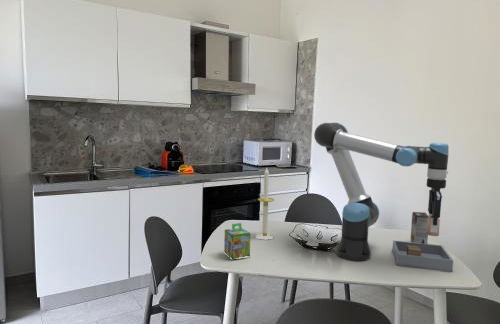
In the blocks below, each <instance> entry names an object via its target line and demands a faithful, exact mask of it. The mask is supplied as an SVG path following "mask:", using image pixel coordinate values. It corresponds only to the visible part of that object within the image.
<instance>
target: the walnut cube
mask: <svg viewBox="0 0 500 324" xmlns="http://www.w3.org/2000/svg"><path fill="white" fill-rule="evenodd" d="M407 255H413V256H421V249H420V248H419V247H418V246H409V245H407Z"/></svg>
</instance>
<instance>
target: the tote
mask: <svg viewBox="0 0 500 324" xmlns="http://www.w3.org/2000/svg"><path fill="white" fill-rule="evenodd" d="M407 245H409V246H418V247H419V248H420V249H421V256H413V255H407ZM391 250H392V251H391V252H392V254H393V257H394V261H395V264H396V266H399V267H406V268H407V267H408V268H416V269H422V270H431V271H440V272H441V271H442V272H449V273H453V267H454V259H453V258H452V257H451V255H450V254H449V253H448V251H447V250H446V248H445V247H444V246H443V245H440V244H432V243H427V244H423V243H413V242H411V241H401V240H392V249H391Z"/></svg>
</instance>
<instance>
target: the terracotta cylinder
mask: <svg viewBox="0 0 500 324" xmlns="http://www.w3.org/2000/svg"><path fill="white" fill-rule="evenodd" d="M440 224H441V219H440V218H438V231H437V233H436V232H430V228H431V218H427V232H426V234H427V235H428V236H431V237H438V236H440V226H441V225H440Z"/></svg>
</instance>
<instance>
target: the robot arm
mask: <svg viewBox="0 0 500 324" xmlns="http://www.w3.org/2000/svg"><path fill="white" fill-rule="evenodd" d="M313 135H314V139H315V142H316V144H318V145H319V146H321V147H325V150H326V152H327V153H328V154H329V155H331V157H332V159H333V162H334V164H335V167H336V169H337V172H338V174H339V177H340V180H341V182H342V185H343V187H344V190H345V192H346V196H347V199H348V202H347V204H345V205H344V206H343V207H342V213H341V214H342V217H341V218H342V221H341V238H340V240H339V243H338V246H337V249H336V255H337V256H338V257H340V258H342V259H344V260H347V261H353V262H364V261H368V260H370V259H371V257H372V254H371V253H372V252H371V248H370V245H369V240H368V238H369V228H370V227H371V226H373V225H375V224H376V222H377V221H378V219H379V217H380V209H379V206H378V205H377V204H376V203H375V202H374V201H373V199H372V197H371V195H369V194H367V193H366V191H365V188H364V185H363V183H362V180H361V178H360V175H359V173H358V170H357V167H356V166H355V163H354V162H355V161H354V160H353V158H352V155H351V153H350V151H351V152H354V153H356V154H357V153H358V154H362V155H365V156H368V157H369V156H370V157H373V158H376V159H381V160H385V161H387V162H392V163H395V164H399V165H400V166H401V167H411V166H414V164H419V165H420V164H421V165H422V164H423V165H427V172H426V173H427V174H426V177H427V179H426V187H428V188H430V189H429V190H428V193H429V194H428V204H427V206H428V207H427V211H428V216H429V218H431V228H430V232H436V233H437V231H438V219H440V218H441V211H442V210H441V208H442V199H443V195H442V192H441V189H443V190H444V189H445V188H447V187H446V186H447V180H446V179H447V175H448V174H449V171H448V164H449V148H450V147H449V145H448V143H443V142H431V143H429V145H428V146H413V145H412V146H411V145H398V144H395V143H390V142H386V141H383V140H378V139H374V138H370V137H366V136H362V135H358V134H354V133H349V131H348V129H347V128H346V126H344V125H343V124H341V123H340V122H339V123H338V122H323V123H321V124H318V125H317V127H316V128H315V130H314V133H313Z"/></svg>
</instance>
